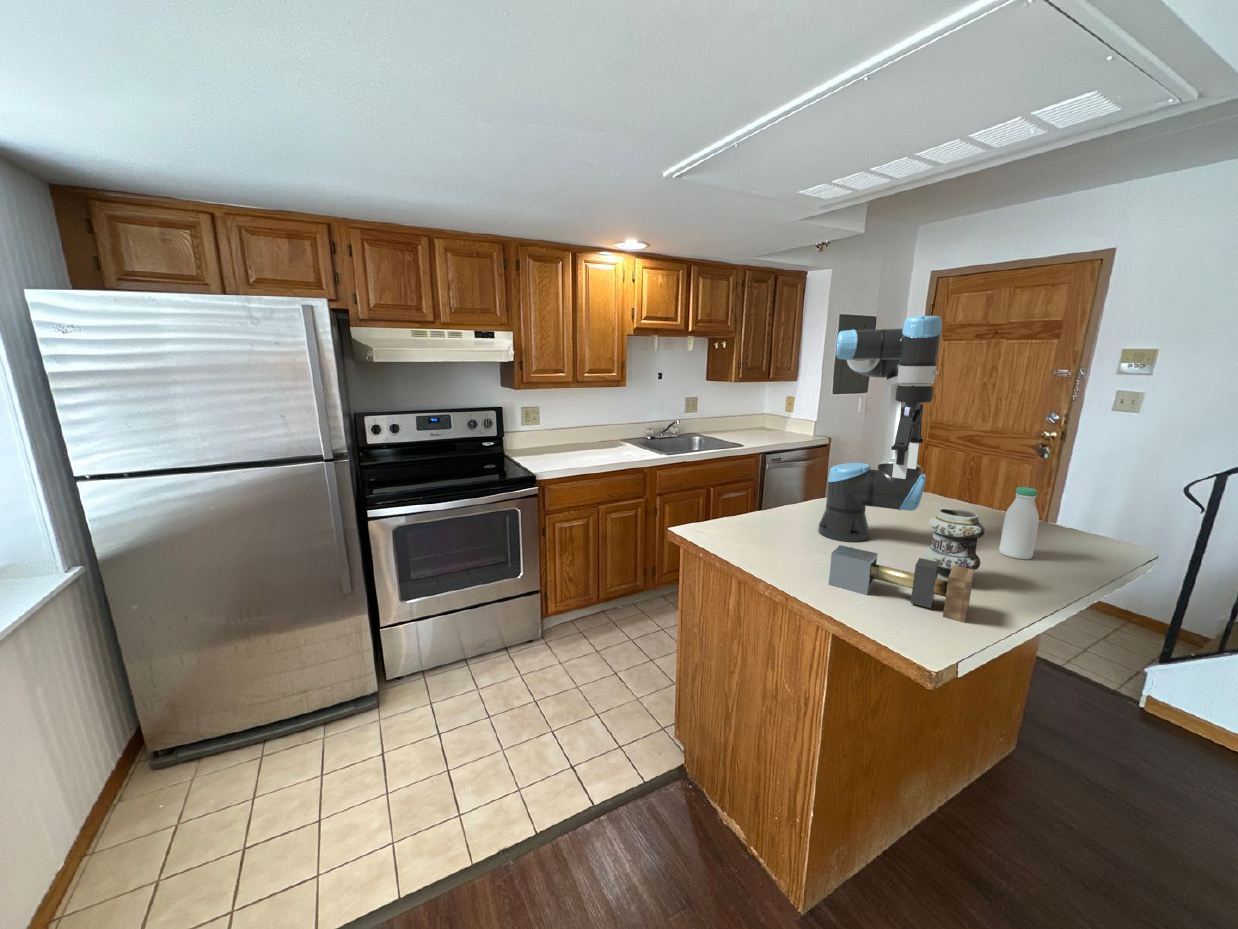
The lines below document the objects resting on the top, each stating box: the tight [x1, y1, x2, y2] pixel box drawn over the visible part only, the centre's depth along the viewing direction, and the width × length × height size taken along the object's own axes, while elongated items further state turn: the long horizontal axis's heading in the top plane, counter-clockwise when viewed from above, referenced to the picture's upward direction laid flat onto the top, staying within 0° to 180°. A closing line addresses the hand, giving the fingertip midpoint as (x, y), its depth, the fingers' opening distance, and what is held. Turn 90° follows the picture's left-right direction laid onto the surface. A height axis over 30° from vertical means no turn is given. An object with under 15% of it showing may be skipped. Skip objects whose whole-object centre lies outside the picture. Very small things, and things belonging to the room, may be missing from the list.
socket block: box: [942, 565, 975, 623], centre depth 109 cm, size 4×8×10 cm, turn 140°
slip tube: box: [870, 557, 948, 609], centre depth 114 cm, size 20×5×10 cm, turn 50°
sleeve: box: [828, 544, 879, 596], centre depth 122 cm, size 9×7×8 cm
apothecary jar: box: [923, 507, 986, 581], centre depth 125 cm, size 12×12×18 cm
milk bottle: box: [998, 486, 1040, 560], centre depth 140 cm, size 8×8×20 cm
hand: (904, 473), depth 119 cm, fingers open, 13 cm apart
